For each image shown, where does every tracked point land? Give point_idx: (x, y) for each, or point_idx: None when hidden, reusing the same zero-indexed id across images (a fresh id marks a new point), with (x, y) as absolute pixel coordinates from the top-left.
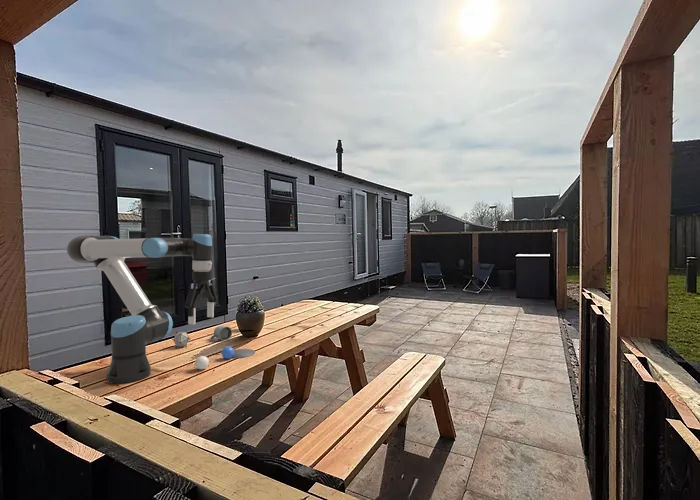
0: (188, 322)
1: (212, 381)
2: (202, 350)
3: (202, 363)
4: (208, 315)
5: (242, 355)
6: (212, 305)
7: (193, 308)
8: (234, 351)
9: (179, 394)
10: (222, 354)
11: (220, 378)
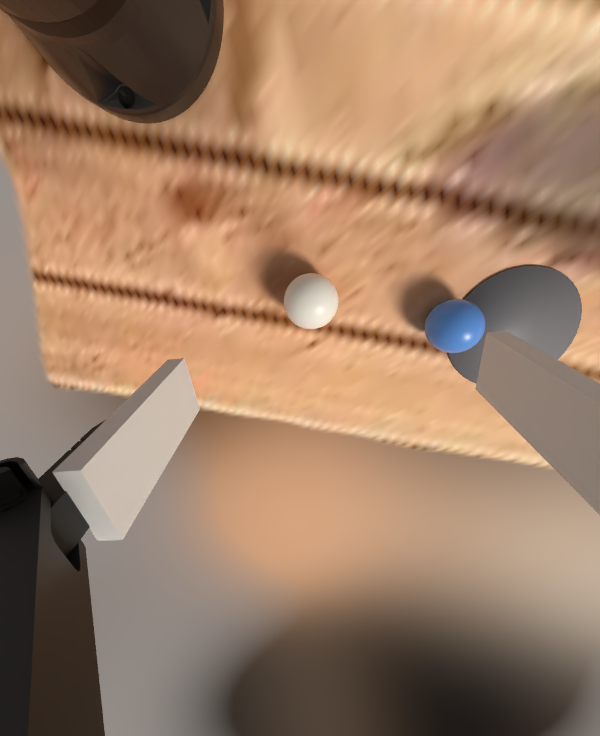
0: (162, 368)
1: (230, 395)
2: (587, 84)
3: (291, 320)
4: (493, 354)
5: (481, 355)
6: (568, 479)
7: (93, 528)
8: (541, 293)
9: (123, 367)
10: (430, 315)
11: (257, 403)
